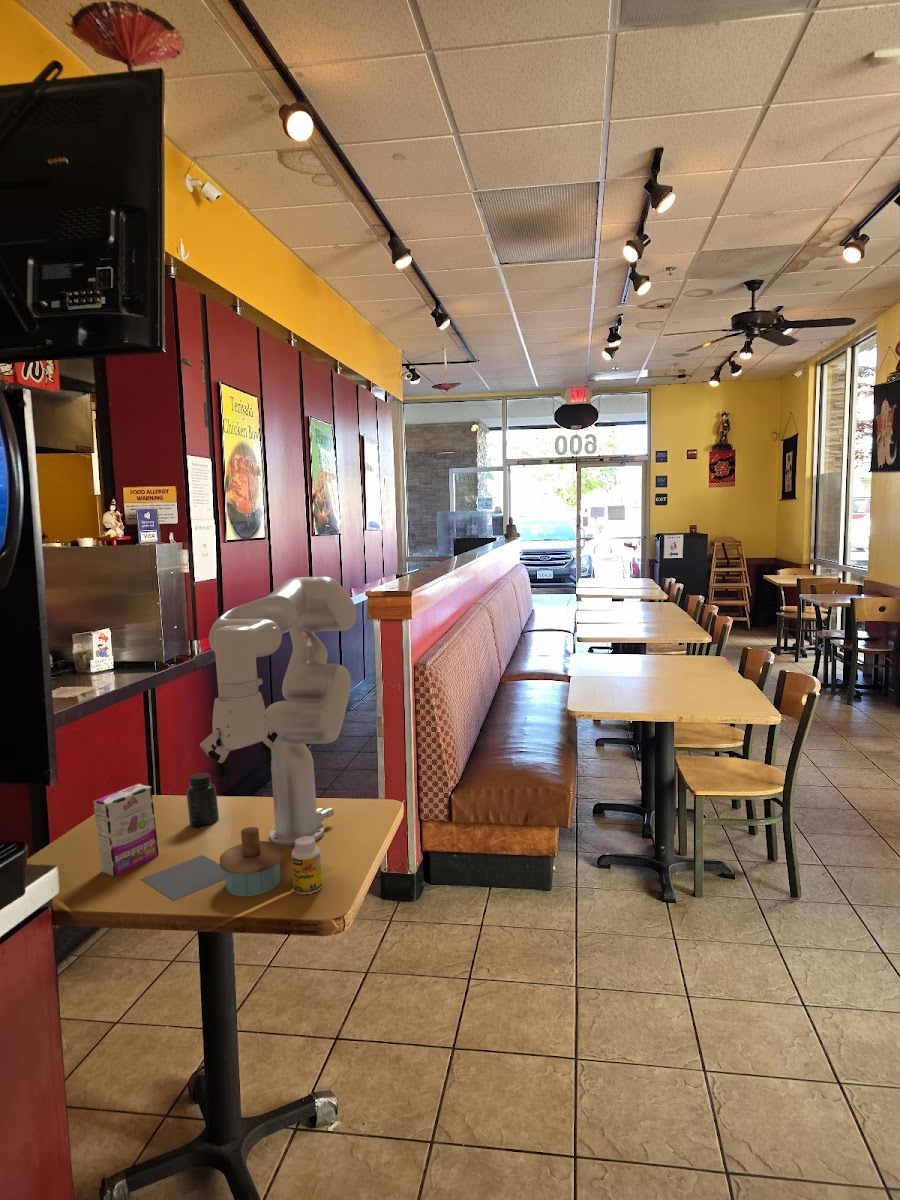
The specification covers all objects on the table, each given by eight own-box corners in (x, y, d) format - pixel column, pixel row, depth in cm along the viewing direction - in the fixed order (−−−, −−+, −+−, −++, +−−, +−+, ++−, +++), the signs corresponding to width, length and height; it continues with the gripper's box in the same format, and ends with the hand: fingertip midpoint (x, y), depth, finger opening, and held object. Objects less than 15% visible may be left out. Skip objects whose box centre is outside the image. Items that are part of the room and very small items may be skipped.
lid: (260, 840, 164) (258, 813, 164) (296, 856, 156) (294, 828, 155) (207, 861, 155) (205, 833, 155) (242, 880, 147) (239, 849, 146)
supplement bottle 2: (289, 895, 152) (286, 845, 150) (299, 881, 157) (296, 833, 156) (317, 896, 151) (313, 846, 149) (326, 883, 156) (323, 834, 155)
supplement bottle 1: (207, 815, 194) (203, 769, 192) (224, 821, 190) (221, 773, 188) (183, 825, 188) (179, 777, 187) (201, 831, 184) (197, 782, 183)
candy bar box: (145, 853, 173) (138, 782, 171) (159, 857, 171) (153, 785, 169) (99, 874, 164) (92, 799, 162) (114, 879, 161) (106, 803, 159)
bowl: (261, 868, 164) (259, 843, 163) (291, 883, 157) (289, 857, 156) (216, 887, 156) (214, 861, 155) (245, 904, 149) (243, 877, 148)
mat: (202, 857, 170) (202, 854, 170) (237, 876, 160) (237, 873, 160) (140, 881, 160) (140, 879, 160) (173, 903, 150) (173, 900, 150)
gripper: (265, 678, 160) (270, 758, 163) (187, 695, 148) (195, 782, 150) (286, 682, 155) (292, 765, 157) (208, 701, 143) (215, 790, 145)
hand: (244, 773), depth 154 cm, fingers open, 9 cm apart
